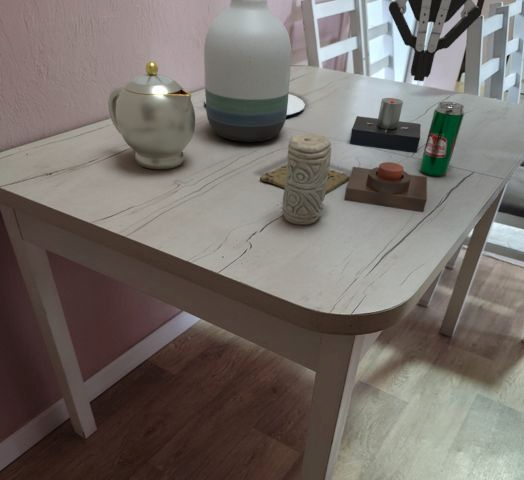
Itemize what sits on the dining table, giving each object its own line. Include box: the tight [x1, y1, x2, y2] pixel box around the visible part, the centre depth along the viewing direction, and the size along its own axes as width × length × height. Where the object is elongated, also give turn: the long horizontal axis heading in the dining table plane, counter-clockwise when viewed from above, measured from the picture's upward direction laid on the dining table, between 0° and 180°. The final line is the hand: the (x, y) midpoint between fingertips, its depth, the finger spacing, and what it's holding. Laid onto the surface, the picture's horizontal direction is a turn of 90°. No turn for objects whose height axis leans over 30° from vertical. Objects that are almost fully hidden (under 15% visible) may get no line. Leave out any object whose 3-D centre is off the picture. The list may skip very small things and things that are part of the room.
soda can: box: [419, 101, 465, 178], centre depth 89 cm, size 5×5×12 cm
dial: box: [377, 97, 404, 129], centre depth 102 cm, size 4×4×5 cm
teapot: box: [107, 61, 196, 171], centre depth 85 cm, size 18×14×16 cm
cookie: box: [259, 163, 350, 195], centre depth 87 cm, size 12×12×1 cm
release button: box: [377, 161, 405, 181], centre depth 80 cm, size 4×4×2 cm
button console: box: [344, 166, 428, 213], centre depth 83 cm, size 13×10×4 cm
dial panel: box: [349, 115, 422, 153], centre depth 105 cm, size 14×10×3 cm
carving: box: [282, 134, 332, 226], centre depth 72 cm, size 6×8×12 cm
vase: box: [203, 0, 292, 143], centre depth 97 cm, size 17×17×24 cm
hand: (418, 79), depth 73 cm, fingers closed
